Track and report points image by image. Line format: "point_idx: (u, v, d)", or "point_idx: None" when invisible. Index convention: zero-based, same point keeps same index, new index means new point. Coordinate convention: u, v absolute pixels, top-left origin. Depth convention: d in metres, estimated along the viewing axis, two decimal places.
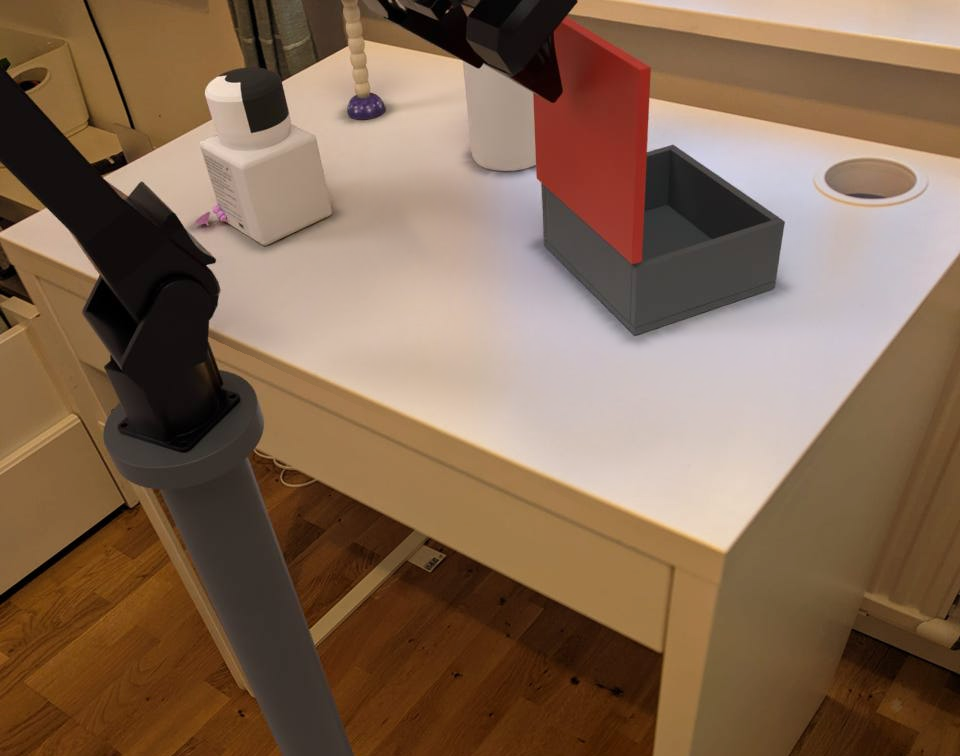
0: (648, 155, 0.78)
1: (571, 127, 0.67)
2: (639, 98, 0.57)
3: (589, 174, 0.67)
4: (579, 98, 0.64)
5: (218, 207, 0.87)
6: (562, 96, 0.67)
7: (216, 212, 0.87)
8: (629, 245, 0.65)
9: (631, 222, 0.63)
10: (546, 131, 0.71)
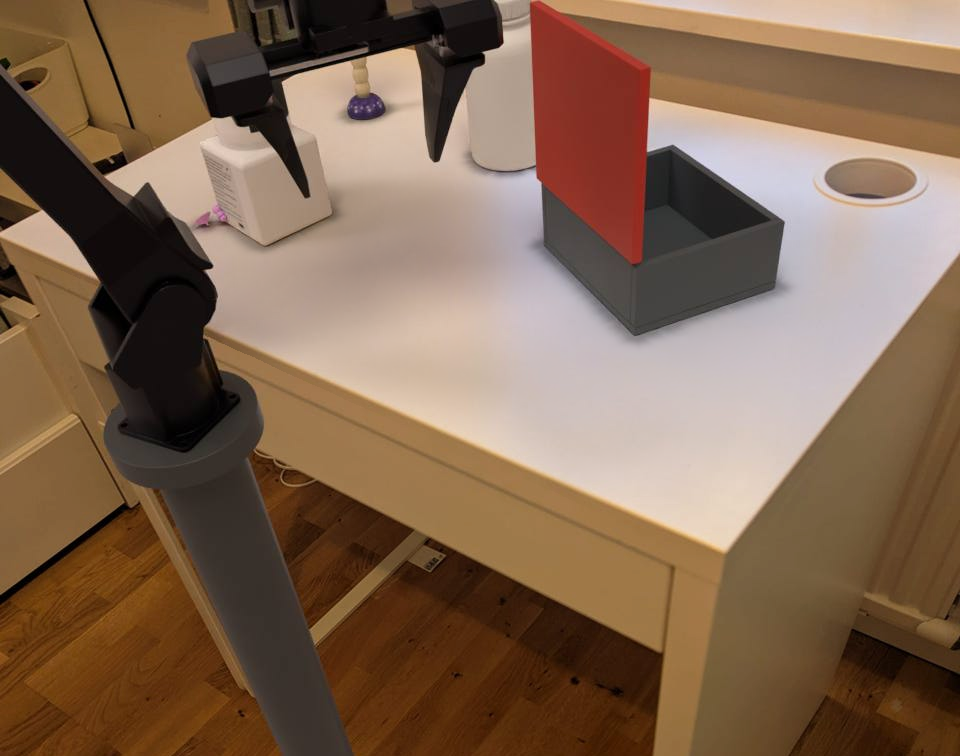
0: (648, 155, 0.78)
1: (571, 127, 0.67)
2: (639, 98, 0.57)
3: (589, 174, 0.67)
4: (579, 98, 0.64)
5: (218, 207, 0.87)
6: (562, 96, 0.67)
7: (216, 212, 0.87)
8: (629, 245, 0.65)
9: (631, 222, 0.63)
10: (546, 131, 0.71)
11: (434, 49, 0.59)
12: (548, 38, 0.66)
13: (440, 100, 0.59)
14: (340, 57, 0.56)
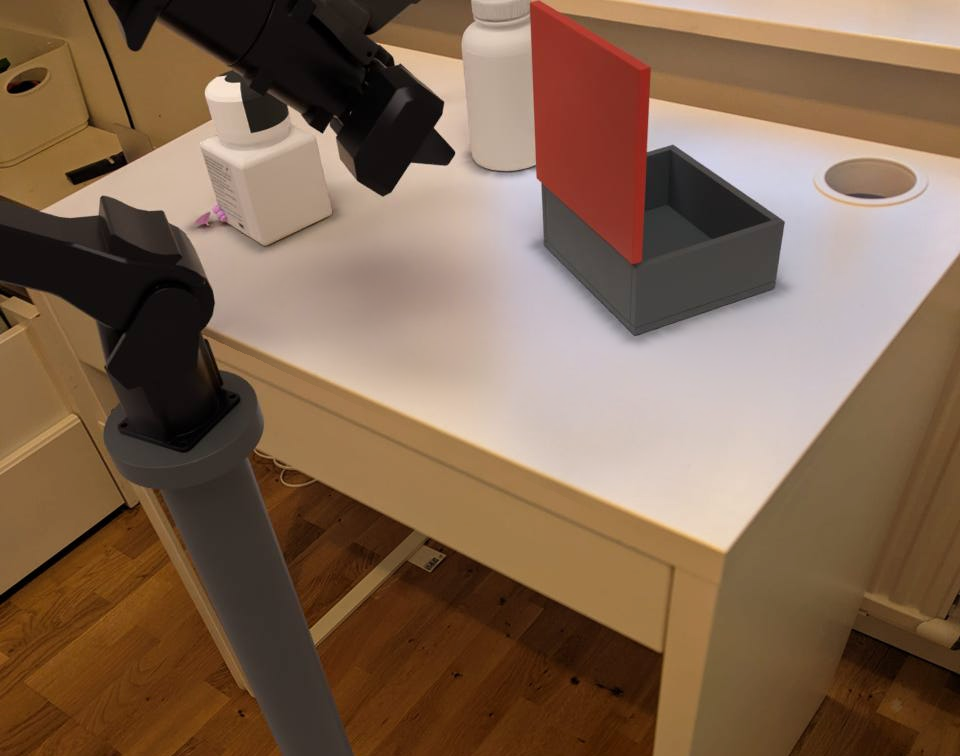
0: (648, 155, 0.78)
1: (571, 127, 0.67)
2: (639, 98, 0.57)
3: (589, 174, 0.67)
4: (579, 98, 0.64)
5: (218, 207, 0.87)
6: (562, 96, 0.67)
7: (216, 212, 0.87)
8: (629, 245, 0.65)
9: (631, 222, 0.63)
10: (546, 131, 0.71)
11: None
12: (548, 38, 0.66)
13: None
14: None
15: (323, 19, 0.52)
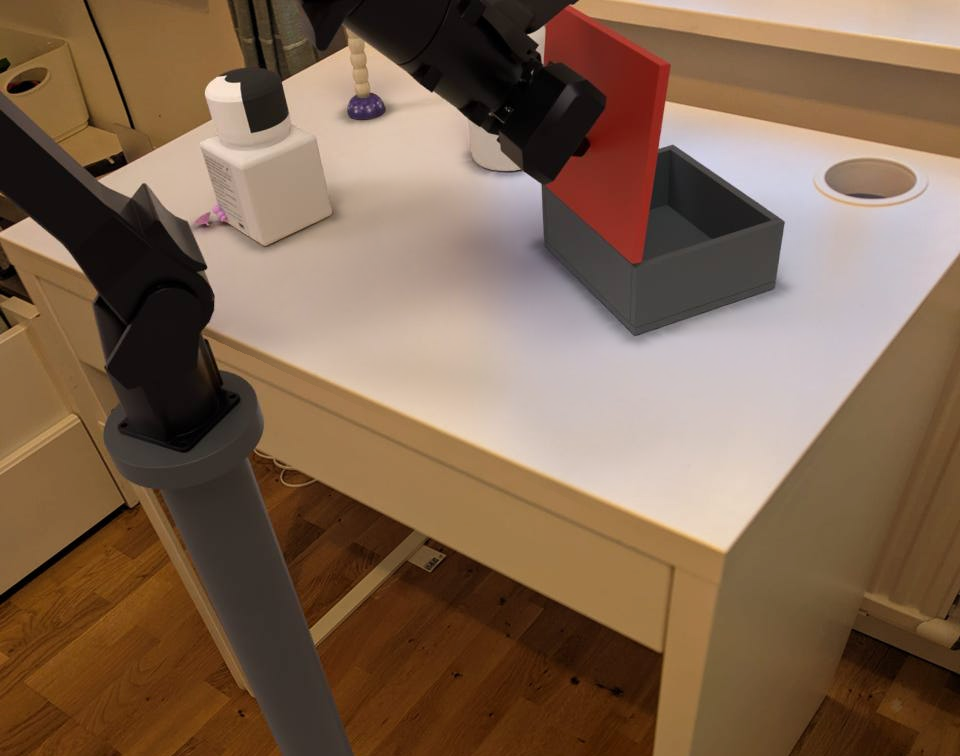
0: None
1: None
2: (656, 94, 0.58)
3: (594, 172, 0.67)
4: None
5: (218, 207, 0.87)
6: None
7: (216, 212, 0.87)
8: (631, 244, 0.65)
9: (635, 221, 0.63)
10: None
11: None
12: (564, 35, 0.66)
13: None
14: None
15: (491, 20, 0.56)
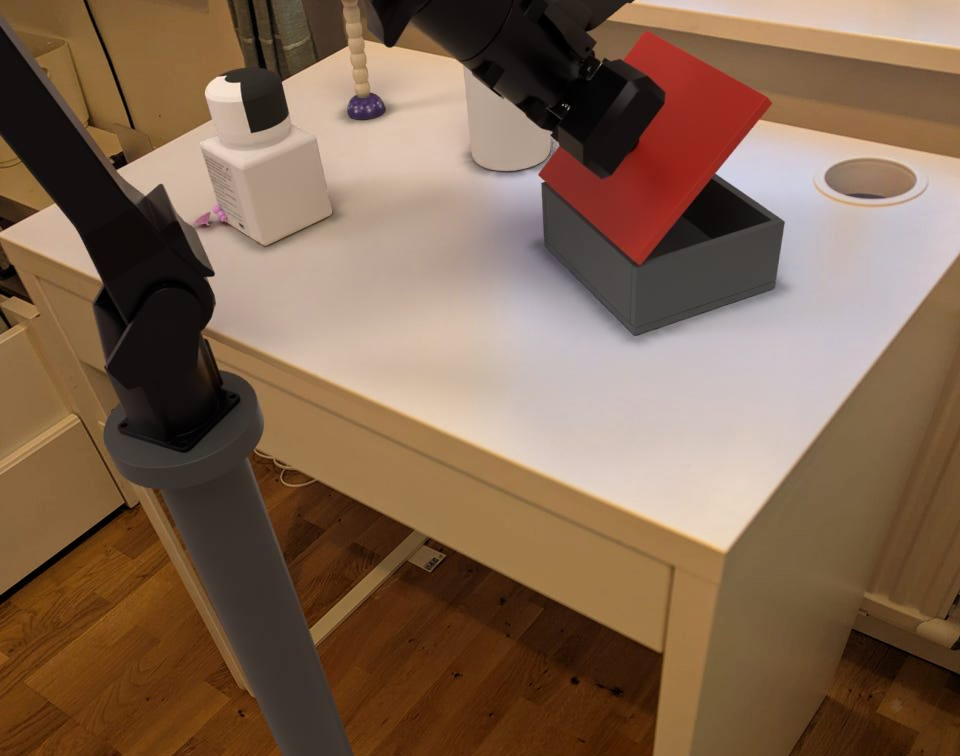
0: None
1: None
2: (748, 120, 0.62)
3: (626, 176, 0.68)
4: (660, 111, 0.68)
5: (218, 207, 0.87)
6: None
7: (216, 212, 0.87)
8: (642, 243, 0.65)
9: (660, 222, 0.64)
10: None
11: None
12: (652, 60, 0.70)
13: None
14: None
15: (552, 17, 0.57)
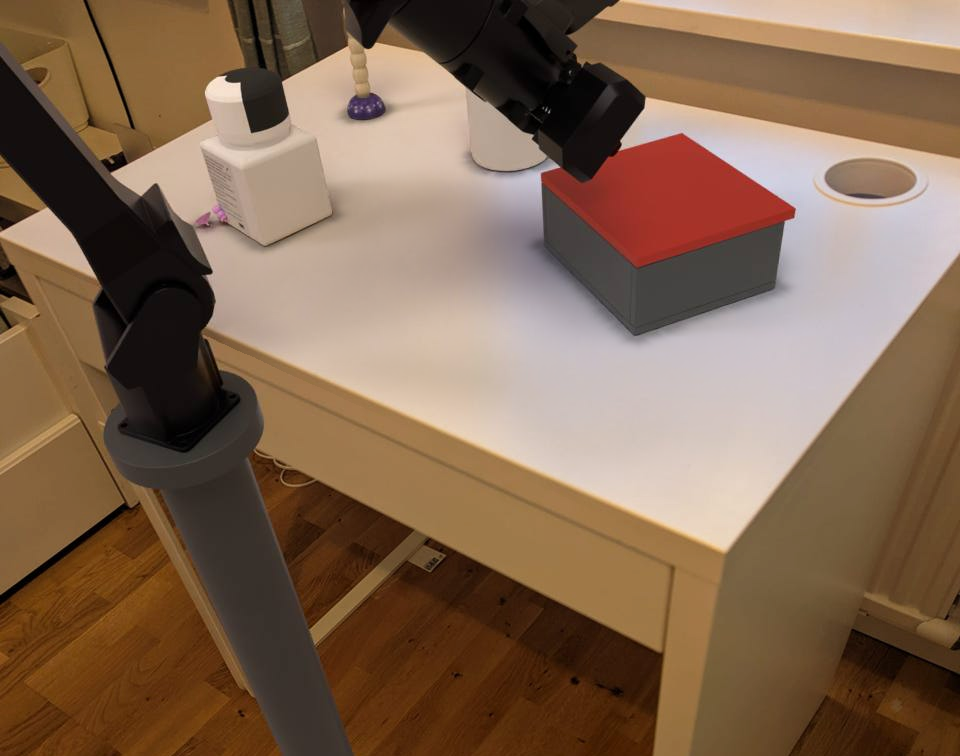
0: None
1: (650, 182, 0.73)
2: (775, 215, 0.68)
3: (641, 205, 0.70)
4: (687, 181, 0.72)
5: (218, 207, 0.87)
6: (661, 170, 0.74)
7: (216, 212, 0.87)
8: (650, 250, 0.66)
9: (672, 244, 0.66)
10: (604, 168, 0.75)
11: None
12: (684, 150, 0.76)
13: None
14: None
15: (532, 20, 0.57)
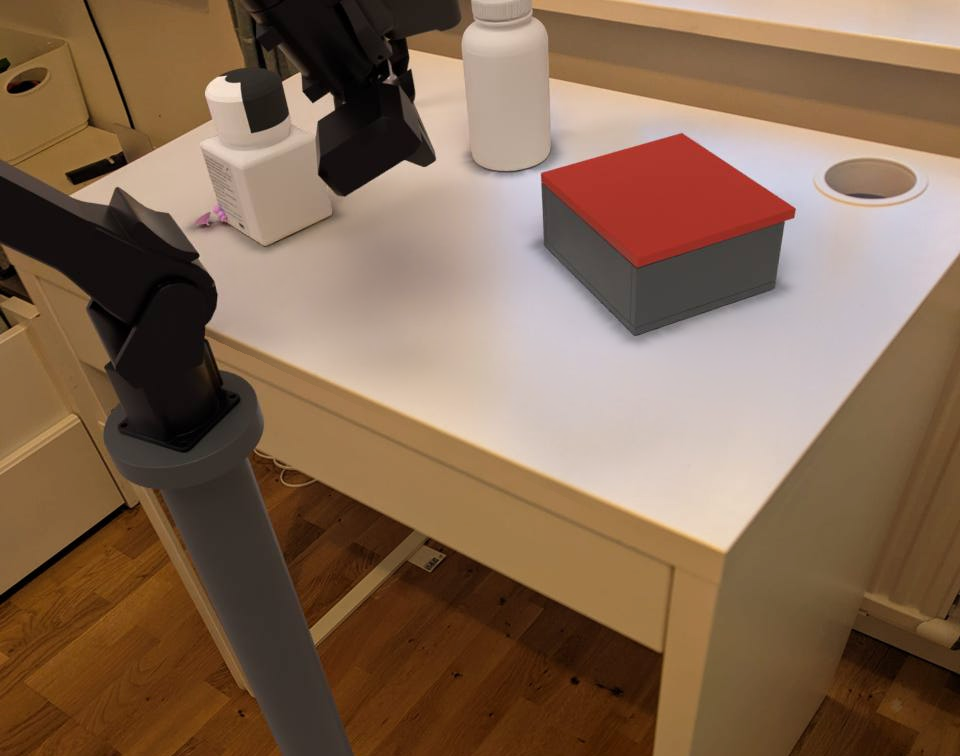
0: None
1: (650, 182, 0.73)
2: (775, 215, 0.68)
3: (641, 205, 0.70)
4: (687, 181, 0.72)
5: (218, 207, 0.87)
6: (661, 170, 0.74)
7: (216, 212, 0.87)
8: (650, 250, 0.66)
9: (672, 244, 0.66)
10: (604, 168, 0.75)
11: None
12: (684, 150, 0.76)
13: None
14: None
15: (348, 11, 0.53)
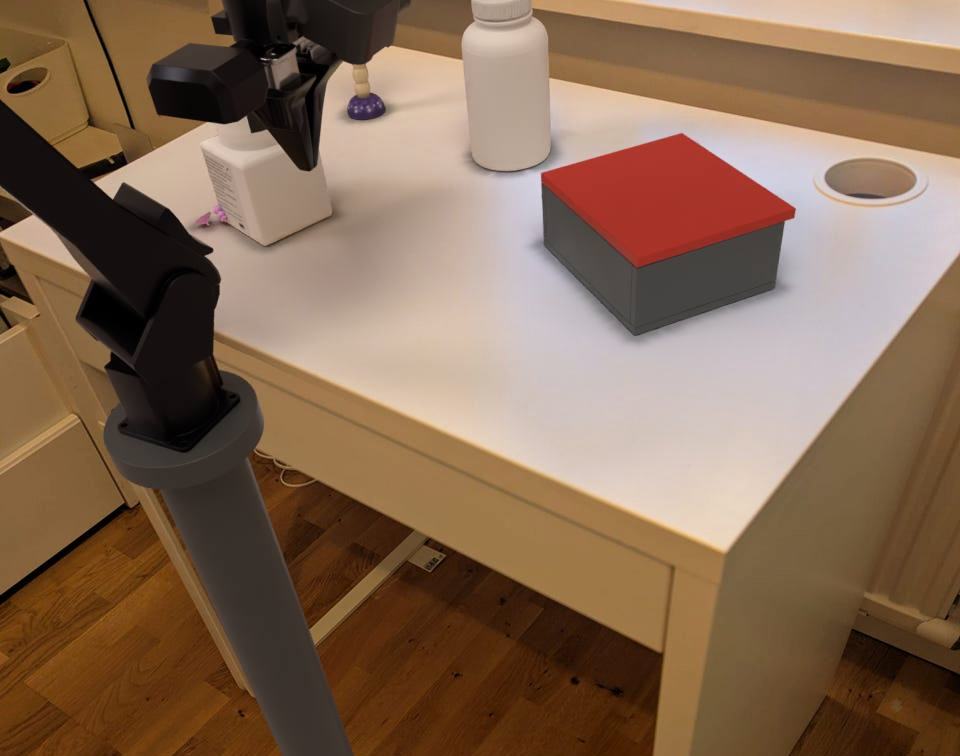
0: None
1: (650, 182, 0.73)
2: (775, 215, 0.68)
3: (641, 205, 0.70)
4: (687, 181, 0.72)
5: (219, 207, 0.87)
6: (661, 170, 0.74)
7: (217, 212, 0.87)
8: (650, 250, 0.66)
9: (672, 244, 0.66)
10: (604, 168, 0.75)
11: None
12: (684, 150, 0.76)
13: None
14: None
15: None
